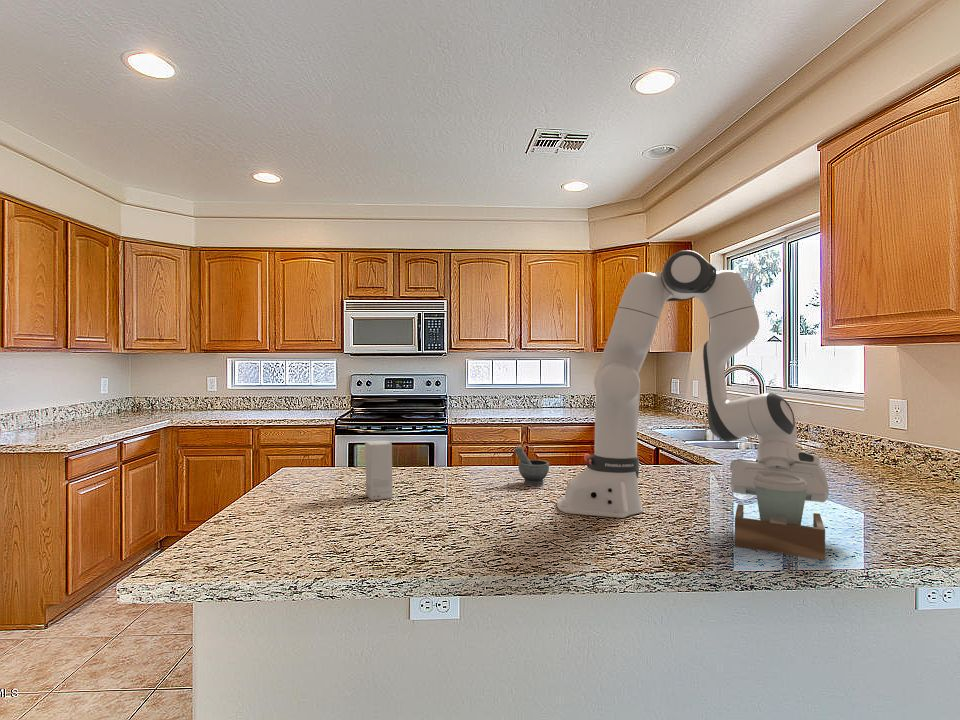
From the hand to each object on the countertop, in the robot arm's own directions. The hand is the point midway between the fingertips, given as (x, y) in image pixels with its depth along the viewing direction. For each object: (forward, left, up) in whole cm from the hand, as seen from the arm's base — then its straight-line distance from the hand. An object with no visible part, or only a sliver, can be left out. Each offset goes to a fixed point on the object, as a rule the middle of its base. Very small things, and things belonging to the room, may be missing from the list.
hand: (777, 511), depth 124 cm
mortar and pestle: (-55, +45, -6) cm, 72 cm away
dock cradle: (-2, -5, -5) cm, 8 cm away
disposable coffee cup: (-2, -6, -6) cm, 8 cm away
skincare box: (-99, +24, -6) cm, 102 cm away
